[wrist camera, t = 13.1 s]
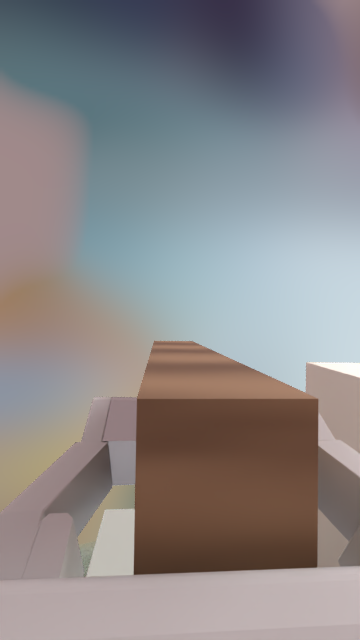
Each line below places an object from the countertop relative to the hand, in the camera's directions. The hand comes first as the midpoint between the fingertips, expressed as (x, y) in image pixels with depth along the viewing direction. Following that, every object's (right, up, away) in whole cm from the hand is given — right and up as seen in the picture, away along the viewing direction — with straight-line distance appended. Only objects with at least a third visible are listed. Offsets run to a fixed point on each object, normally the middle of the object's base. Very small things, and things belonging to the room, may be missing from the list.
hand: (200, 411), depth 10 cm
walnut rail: (-1, -2, +7) cm, 8 cm away
